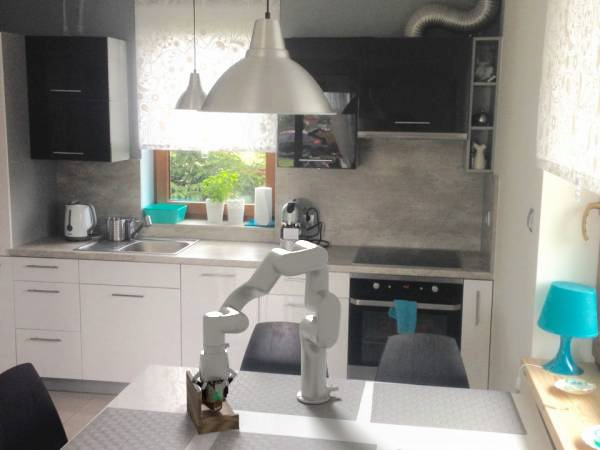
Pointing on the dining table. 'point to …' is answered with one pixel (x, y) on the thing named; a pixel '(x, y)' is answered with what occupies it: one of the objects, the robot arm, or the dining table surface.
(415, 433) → the dining table surface
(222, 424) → the low wooden shelf
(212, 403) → the food container
